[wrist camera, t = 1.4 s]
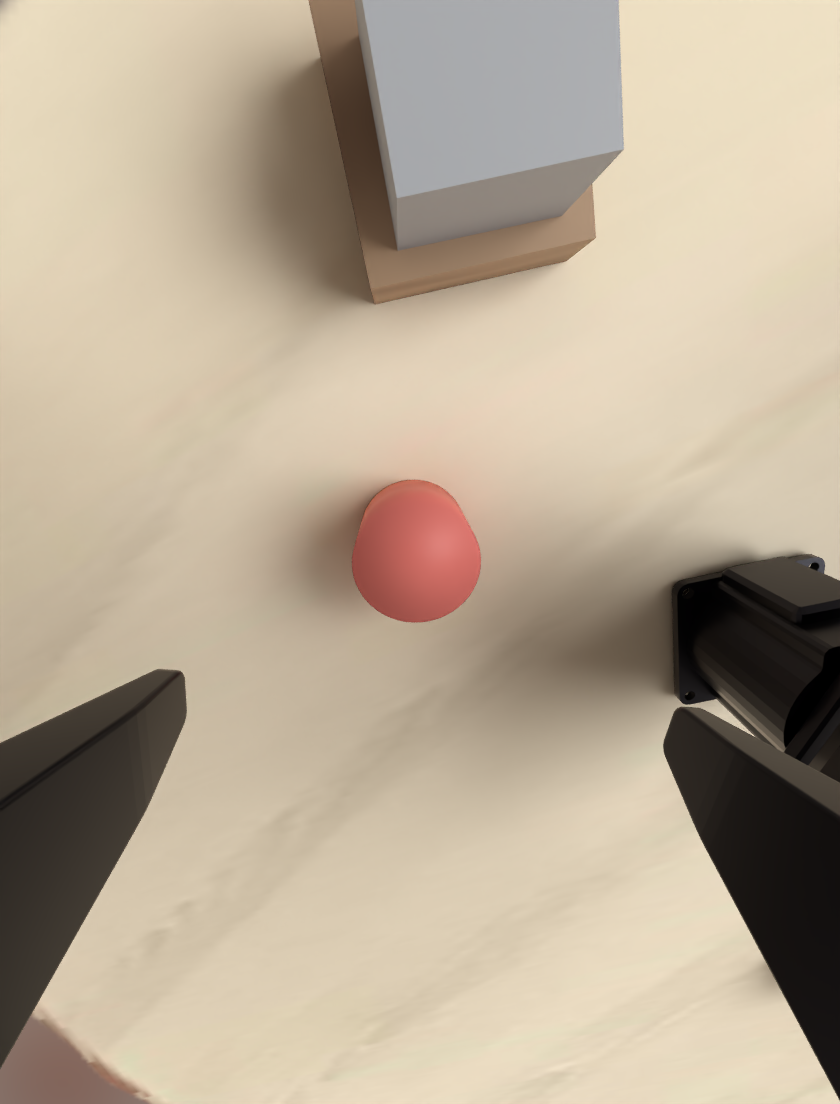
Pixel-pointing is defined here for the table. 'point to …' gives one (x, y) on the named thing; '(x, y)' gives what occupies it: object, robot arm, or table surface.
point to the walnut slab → (367, 187)
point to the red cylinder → (415, 553)
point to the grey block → (490, 108)
